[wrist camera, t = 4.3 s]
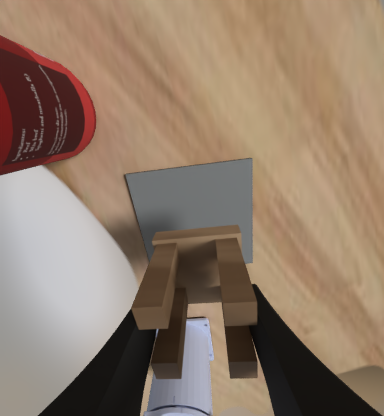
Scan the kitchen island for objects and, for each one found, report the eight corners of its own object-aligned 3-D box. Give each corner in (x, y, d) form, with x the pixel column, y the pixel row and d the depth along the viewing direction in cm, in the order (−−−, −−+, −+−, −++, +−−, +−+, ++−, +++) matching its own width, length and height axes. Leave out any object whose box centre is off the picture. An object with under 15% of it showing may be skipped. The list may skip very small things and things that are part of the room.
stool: (241, 288, 15) (263, 381, 10) (170, 292, 16) (152, 382, 10) (237, 224, 13) (264, 295, 8) (155, 232, 14) (122, 303, 8)
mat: (251, 260, 22) (252, 262, 22) (152, 269, 23) (152, 271, 23) (251, 157, 17) (252, 158, 17) (126, 173, 18) (125, 174, 18)
